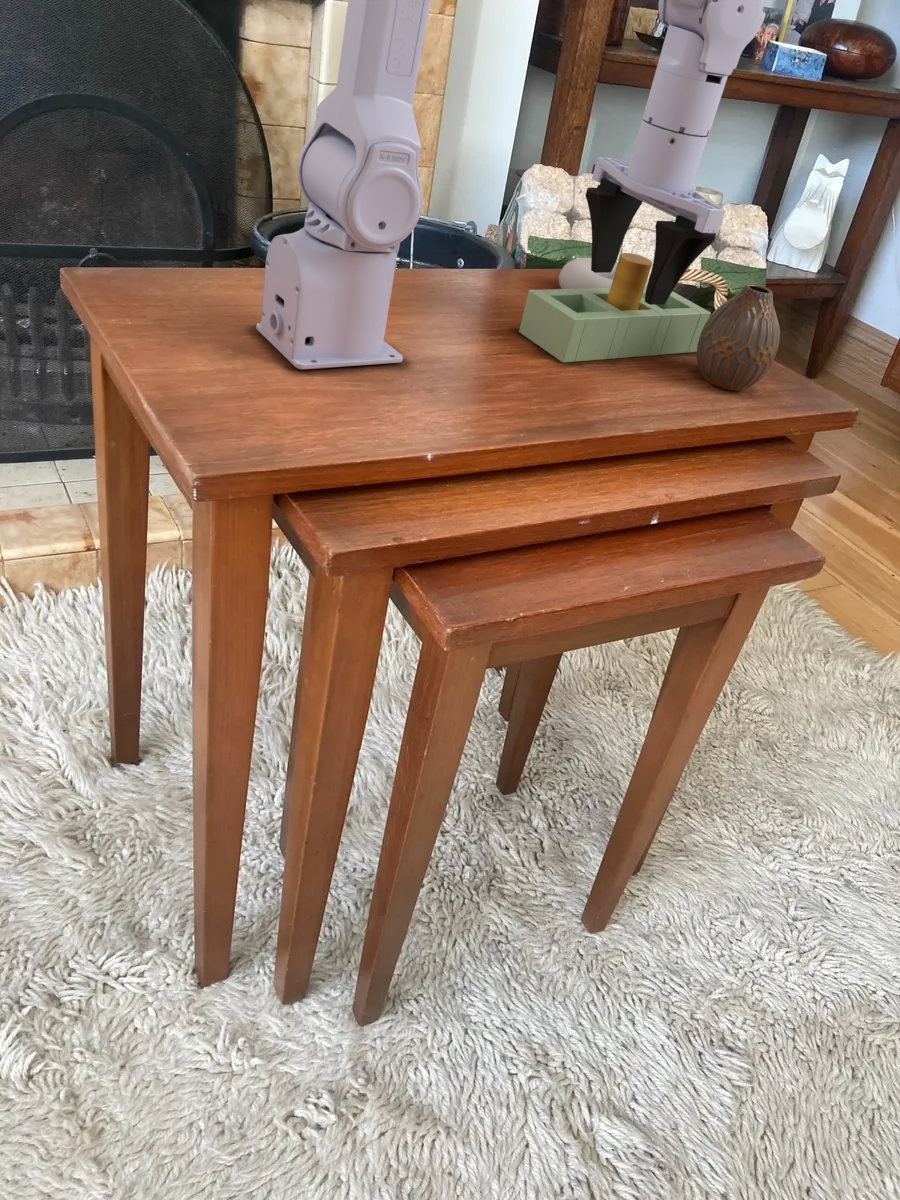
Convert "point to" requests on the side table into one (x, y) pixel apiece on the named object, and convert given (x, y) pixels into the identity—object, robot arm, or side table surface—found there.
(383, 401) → the side table surface
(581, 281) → the donut
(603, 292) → the peg block
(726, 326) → the vase
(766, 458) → the side table surface
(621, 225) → the robot arm
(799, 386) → the side table surface
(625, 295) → the peg
